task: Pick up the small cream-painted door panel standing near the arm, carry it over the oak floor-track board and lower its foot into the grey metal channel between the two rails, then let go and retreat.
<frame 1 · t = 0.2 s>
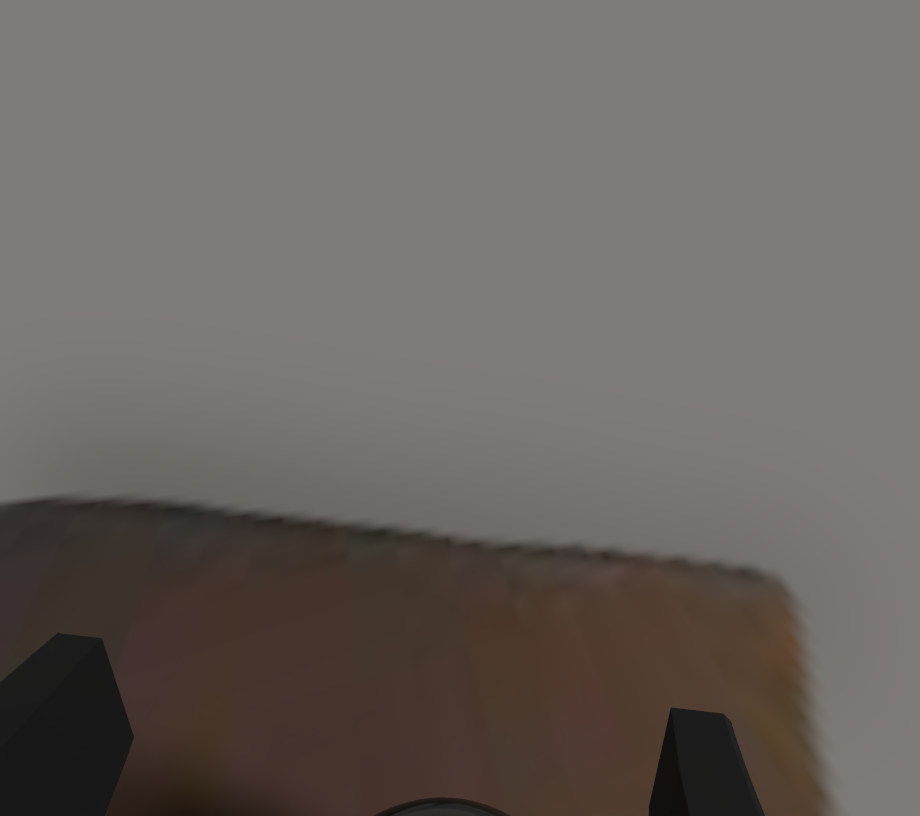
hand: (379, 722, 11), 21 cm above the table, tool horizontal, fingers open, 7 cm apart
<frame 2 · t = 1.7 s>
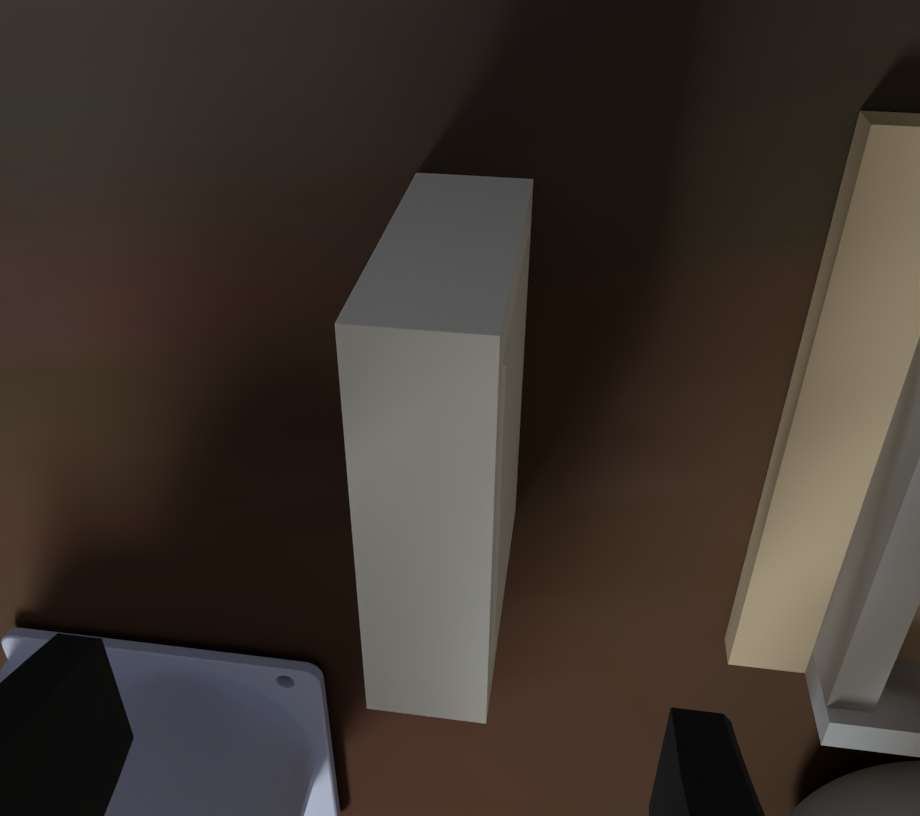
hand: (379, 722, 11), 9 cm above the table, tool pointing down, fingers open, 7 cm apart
door panel: (471, 358, 19), on the table
egg shaped speaker: (906, 812, 25), on the table
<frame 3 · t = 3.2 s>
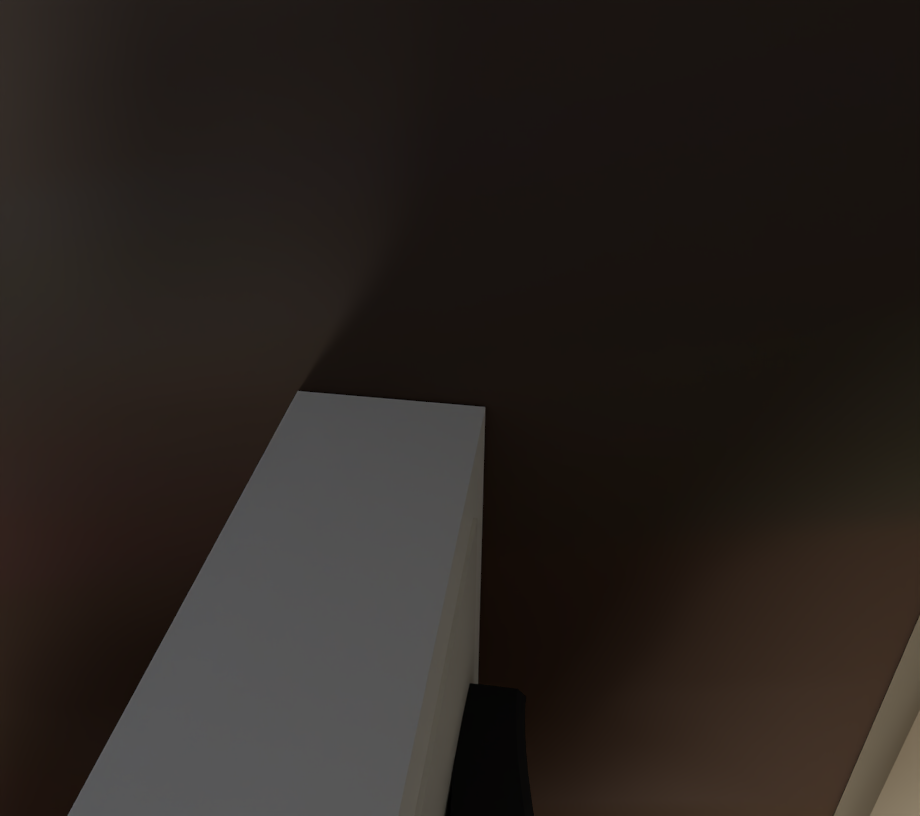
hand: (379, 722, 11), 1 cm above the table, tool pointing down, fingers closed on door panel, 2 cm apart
door panel: (401, 636, 12), on the table, touching gripper
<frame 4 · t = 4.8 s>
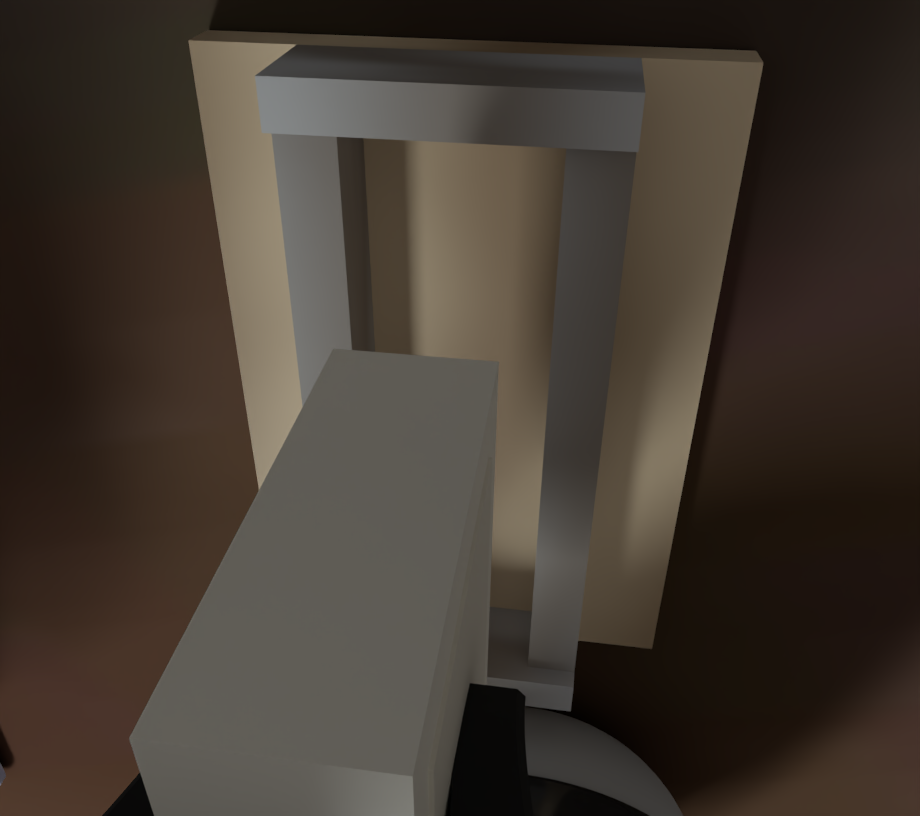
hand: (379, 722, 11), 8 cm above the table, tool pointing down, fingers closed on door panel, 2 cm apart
floor track: (467, 378, 18), on the table
door panel: (420, 576, 14), point 5 cm above the table, touching gripper
egg shaped speaker: (522, 762, 25), on the table
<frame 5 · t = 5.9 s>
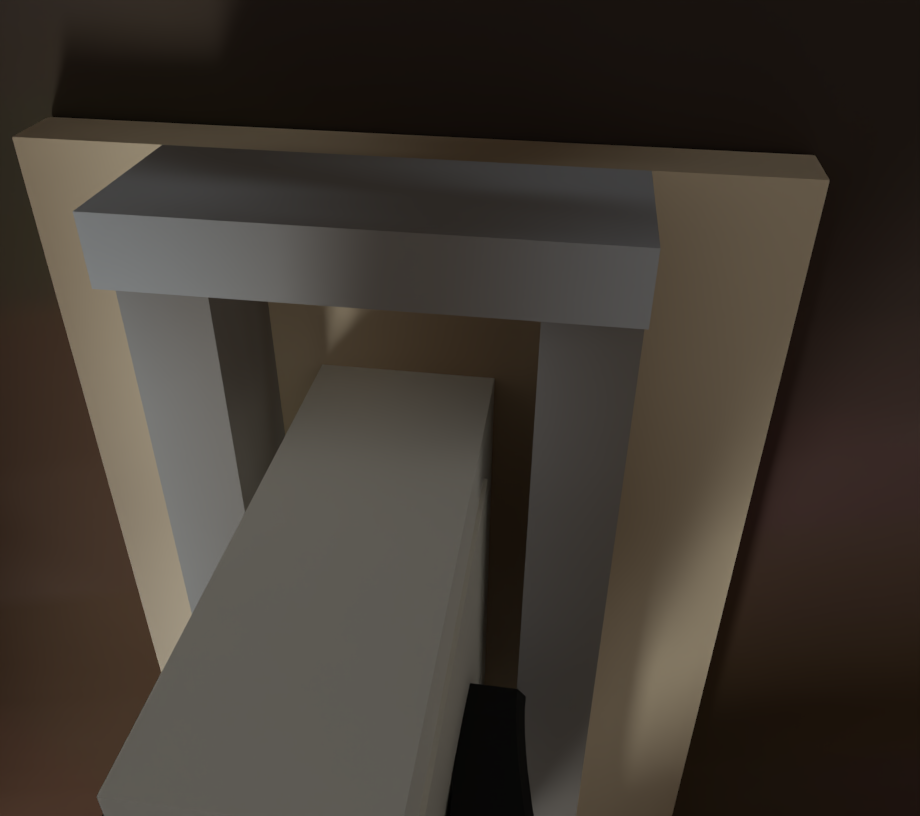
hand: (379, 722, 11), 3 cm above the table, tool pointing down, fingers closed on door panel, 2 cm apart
floor track: (422, 549, 14), on the table
door panel: (414, 596, 13), point 1 cm above the table, touching floor track, gripper
when the fingers open (3 cm above the table, at t = 6.3 s): door panel stays where it is, resting on floor track.
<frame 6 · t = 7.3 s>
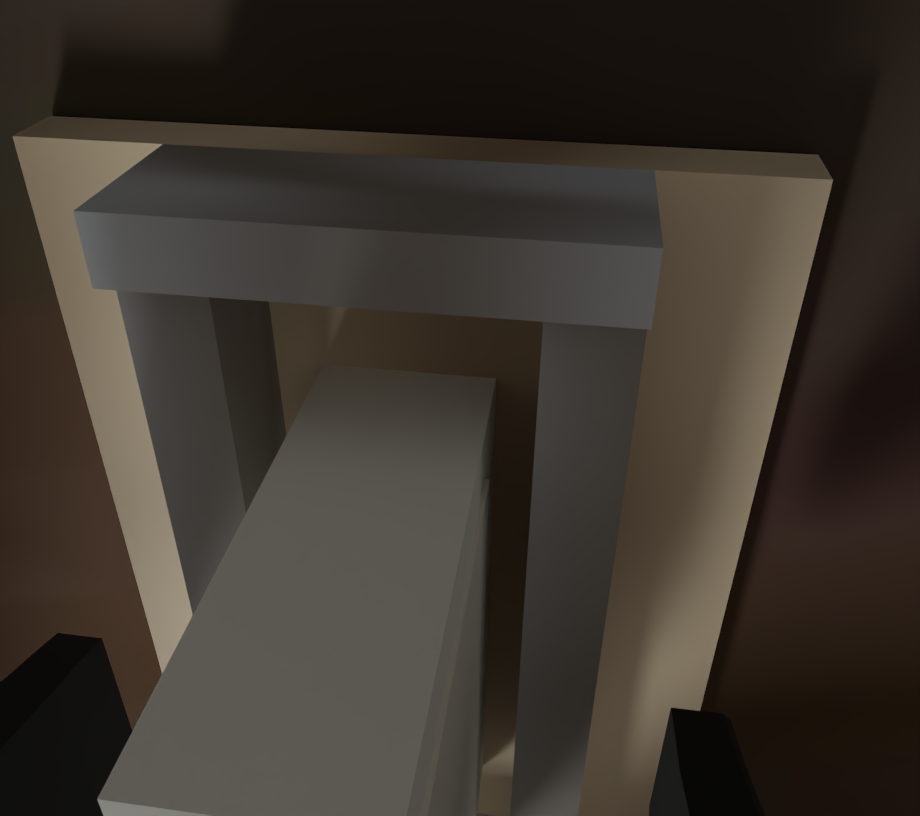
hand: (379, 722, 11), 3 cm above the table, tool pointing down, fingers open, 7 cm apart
floor track: (423, 549, 14), on the table
door panel: (415, 596, 13), point 1 cm above the table, touching floor track
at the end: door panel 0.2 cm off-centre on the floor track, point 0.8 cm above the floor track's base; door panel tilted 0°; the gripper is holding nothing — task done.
